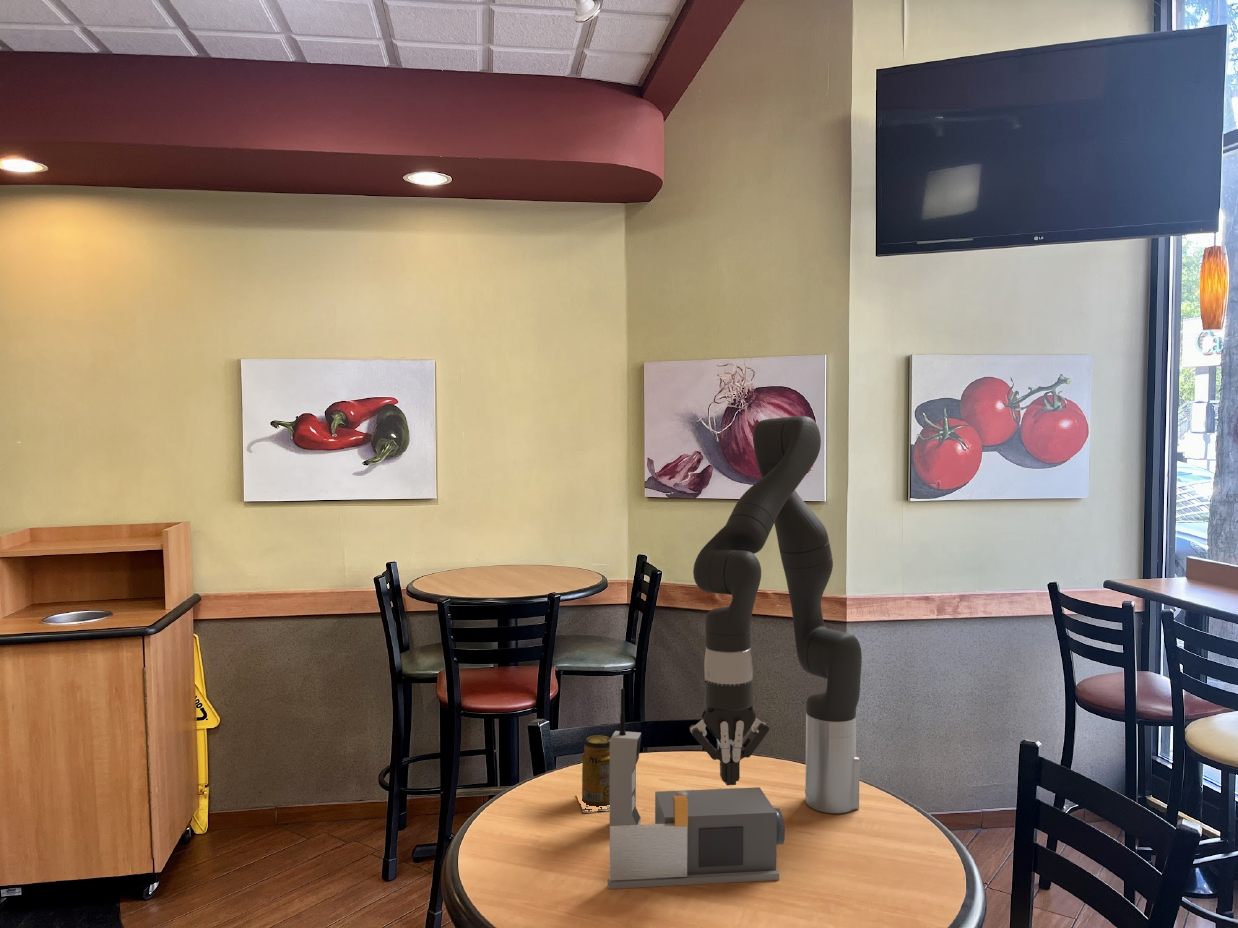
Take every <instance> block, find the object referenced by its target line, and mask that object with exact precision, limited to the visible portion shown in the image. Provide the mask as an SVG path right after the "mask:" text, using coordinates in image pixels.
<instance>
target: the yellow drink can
mask: <svg viewBox="0 0 1238 928" xmlns="http://www.w3.org/2000/svg"><path fill="white" fill-rule="evenodd" d="M610 738H611V737H609V736H606V735H601V734H599V735H590V736H588V737H586V738H585V739H584V747H583V749H584V751H583V753H582V755H581V756H582V759H581V762H582V764H581V765H582V766H581V770H582V771H581V772H582V773H581V777H582V778H581V780H582V781H581V783H582V784H581V787H582V788H581V794H582V801H583V802H584V803H586V805H589V806H596V807H599V806H607V805H610ZM580 805H581V804H579V806H580ZM608 807H609V806H608ZM608 807H607V809H602V807H600V808H601V809H598V811H607V812H610V807H609V808H608ZM581 810H582V813H588V814H589V813H591V814H592V813H598V812H597V811H595V812H592V811H590V810H592V809H586V808H585V809H581ZM585 810H588V811H589V812H587V811H585Z"/></svg>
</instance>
